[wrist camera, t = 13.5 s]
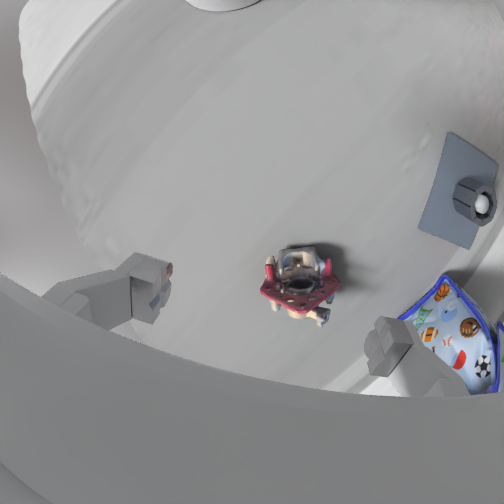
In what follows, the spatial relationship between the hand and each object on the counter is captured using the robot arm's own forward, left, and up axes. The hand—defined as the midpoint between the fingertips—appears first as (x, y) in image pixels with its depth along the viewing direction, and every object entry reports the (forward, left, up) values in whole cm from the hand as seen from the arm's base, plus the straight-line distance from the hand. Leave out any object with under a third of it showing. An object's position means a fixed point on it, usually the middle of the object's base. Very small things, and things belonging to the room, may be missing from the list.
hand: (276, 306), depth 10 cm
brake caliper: (+13, +6, -29) cm, 33 cm away
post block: (-7, +28, -29) cm, 41 cm away
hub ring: (-7, +28, -27) cm, 40 cm away
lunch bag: (+16, +39, -29) cm, 51 cm away
